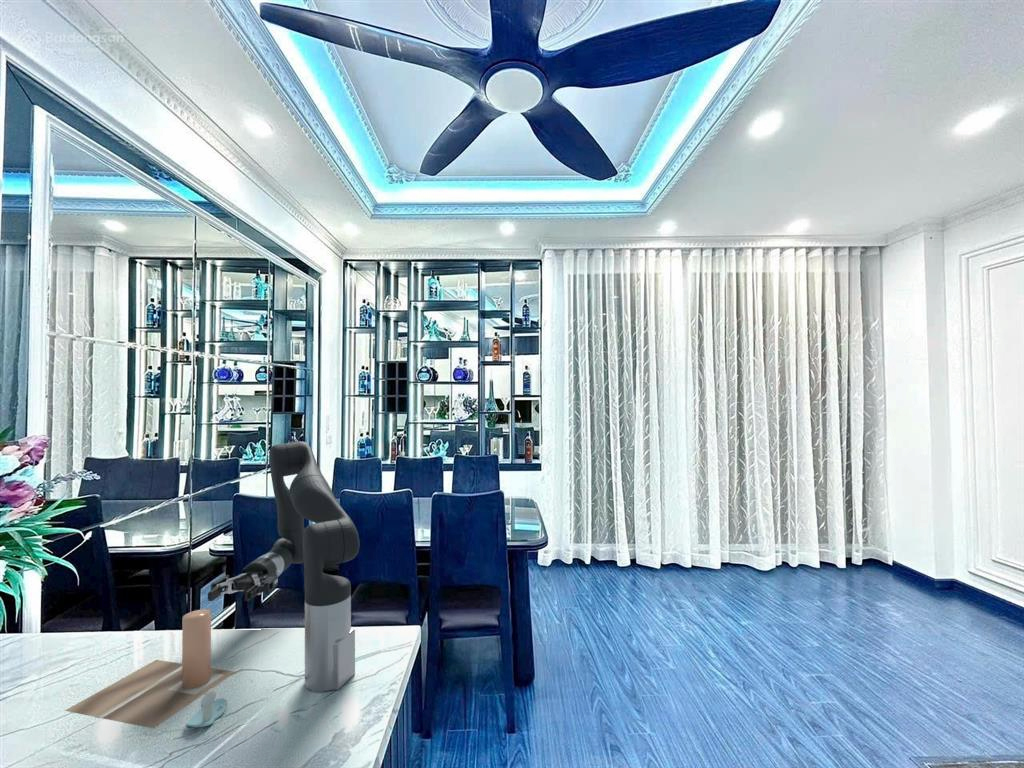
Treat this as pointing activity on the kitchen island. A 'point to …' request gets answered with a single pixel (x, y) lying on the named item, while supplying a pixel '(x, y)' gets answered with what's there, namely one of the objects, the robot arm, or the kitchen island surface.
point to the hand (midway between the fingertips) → (228, 597)
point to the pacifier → (207, 711)
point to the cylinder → (196, 649)
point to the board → (146, 695)
